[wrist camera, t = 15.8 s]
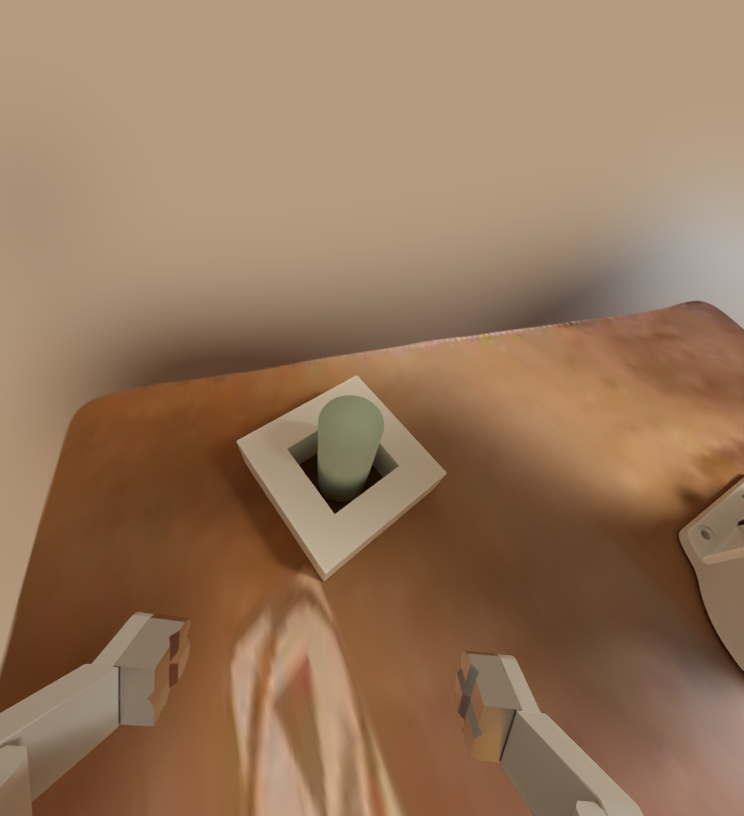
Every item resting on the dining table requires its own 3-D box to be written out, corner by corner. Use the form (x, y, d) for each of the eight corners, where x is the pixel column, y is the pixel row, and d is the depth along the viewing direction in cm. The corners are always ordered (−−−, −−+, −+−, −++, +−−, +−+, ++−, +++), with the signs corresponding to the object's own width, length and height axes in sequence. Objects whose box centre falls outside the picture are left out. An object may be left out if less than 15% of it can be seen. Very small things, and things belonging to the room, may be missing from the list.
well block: (352, 401, 36) (356, 375, 32) (431, 491, 31) (446, 473, 28) (245, 464, 30) (236, 440, 27) (323, 581, 26) (325, 574, 22)
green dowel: (346, 447, 33) (357, 385, 24) (375, 483, 31) (397, 429, 23) (307, 473, 31) (304, 415, 22) (336, 512, 29) (345, 465, 21)
